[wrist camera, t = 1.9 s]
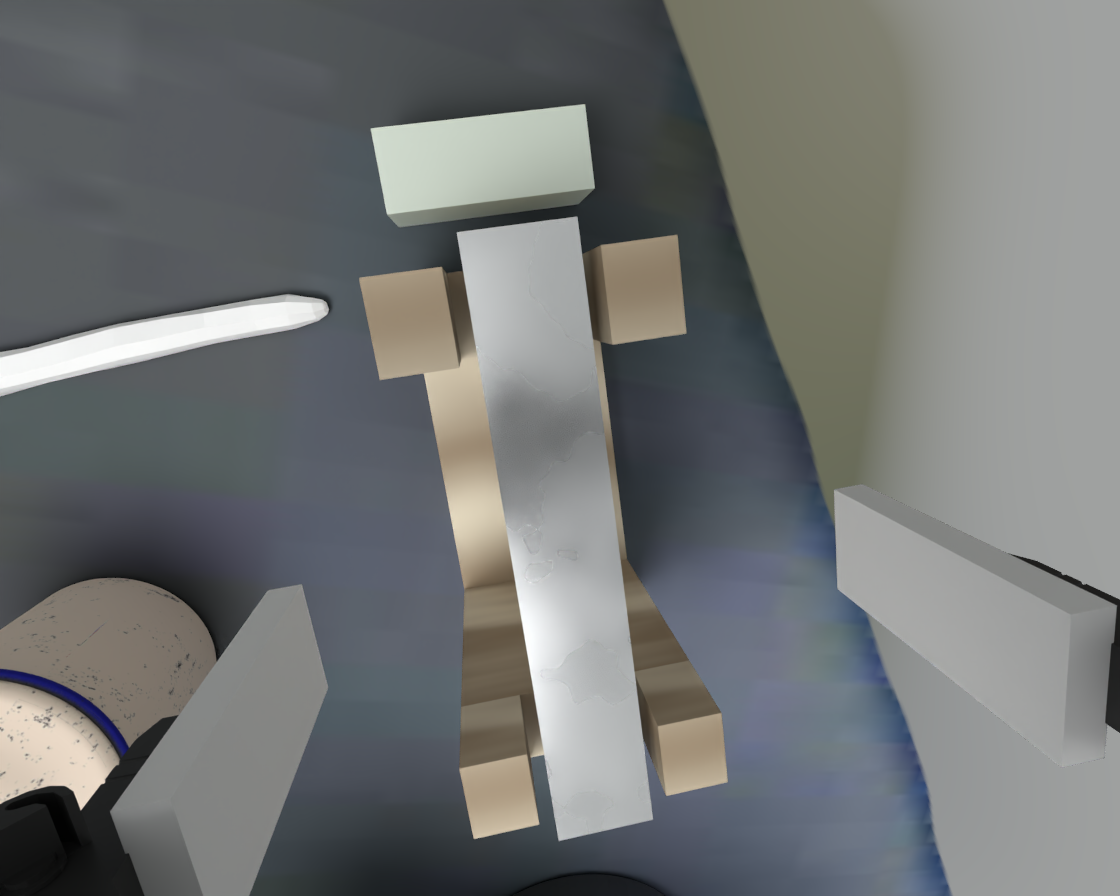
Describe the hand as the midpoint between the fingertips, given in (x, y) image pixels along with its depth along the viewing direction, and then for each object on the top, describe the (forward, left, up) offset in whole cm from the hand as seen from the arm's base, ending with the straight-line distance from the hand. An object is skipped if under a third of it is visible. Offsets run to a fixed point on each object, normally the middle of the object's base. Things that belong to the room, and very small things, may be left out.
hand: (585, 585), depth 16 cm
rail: (0, 0, -5) cm, 5 cm away
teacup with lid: (-8, +20, -16) cm, 27 cm away
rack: (0, 0, -16) cm, 16 cm away
